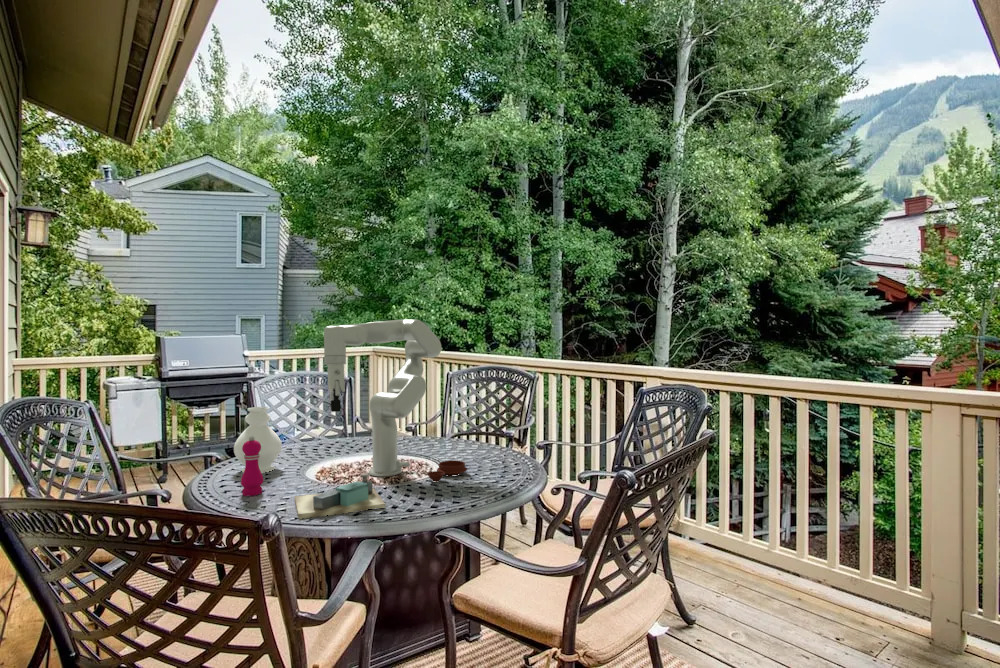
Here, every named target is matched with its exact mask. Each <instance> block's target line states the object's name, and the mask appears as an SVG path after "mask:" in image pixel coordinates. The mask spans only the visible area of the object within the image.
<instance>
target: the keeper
mask: <svg viewBox="0 0 1000 668" xmlns="http://www.w3.org/2000/svg"><path fill="white" fill-rule="evenodd" d="M335 490H336V491H339V492H340V505H343V506H350V505H353V504H355V503H358V502H361V501H364V500H367V499H368V483H363V482H360V481H358V480H357V481H354V482H350V483H347V484H343V485H340V486H338V487H335Z"/></svg>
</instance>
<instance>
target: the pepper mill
mask: <svg viewBox="0 0 1000 668" xmlns="http://www.w3.org/2000/svg"><path fill="white" fill-rule="evenodd" d="M249 440H250V441H247V442H245V443H244V445H243V447H242V451H243V452H244V453H245V455H244V459H245V461H246V467H245V466H244V468H245V471H244V473H242V476H241V477H240V478H241V479H240V485H241V486H242V487H243V488H242V491H241V492H242V496H246V497H253V496H260V495H261V494H262V493H263V487H262V484H263V483H264V476H263V473H261V471H260V469H259V465H258V459H259V458H260V457H259V455H260V454H259V452H260V450H261V444H260V443H259V442H258V441H256V440H254V436H250V437H249Z"/></svg>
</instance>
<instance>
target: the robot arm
mask: <svg viewBox="0 0 1000 668" xmlns="http://www.w3.org/2000/svg"><path fill="white" fill-rule="evenodd" d="M402 341H406V342H405V345H404V352H405V353H404V354H405V362H404V363H403V365H402V366H401V368H400V369H399V370H398V371H397V373H395V375H394V376H393V377H392V378H391V380H390V381H389V383H388V392H387V391H382V392H381V391H379V392H377V393H375V394H373V396H372V397H371V398H370V400H369V411H370V412H369V413H370V416H371V424H372V425H371V426H372V429H371V430H372V467H371V468H370V469H369V470H368V474H369V476H371V477H383V478H384V477H392V476H397V475H400V474H401V473H402V468H404V467H410V465H411V463H410V461H400V460H399V459H398V426H397V421H396V419H398V420H399V419H404V418H407V416H409V415H410V414H411V412H412V411H413V410H414V408H416V406H417V405H418V404H419V402H420V401H421V400H422V398H423V397H424V396H425V393H426V391H427V382H426V380H425V378H424V377H423V376H422V375H423V373H424V364H423V359H422V358H427V359H428V358H431V359H433V358H436V357H438V356H439V355H440V354H441V351H442V343H441V340H440V339H439V338H438V336H437V335H436V334H435V333H434V332H433V331H432V330H431V328H430V327H428V325H426V324H425V323H424V322H423V321H422V320H419V319H416V318H415V319H414V318H413V319H411V318H410V319H408V318H407V319H394V320H391V319H390V320H383V321H373V322H372V321H370V322H366V323H365V322H364V323H353V324H352V323H351V324H343V325H342V324H340V325H329V326H328V325H327V326H326V327H324V329H323V353H324V355H323V356H324V358H323V359H324V360H323V364H324V365H325V366H327V386H328V391H330V396H331V397H330V411H331V412H333V413H334V412H341V410H342V409H341V407H342V406H341V392H342V393H345V391H346V386H345V369H344V368H345V367H344V365H346V364H347V346H349V347H350V346H353V347H358V346H362V345H363V344H385V343H392V342H402Z"/></svg>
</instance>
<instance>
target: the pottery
mask: <svg viewBox="0 0 1000 668" xmlns="http://www.w3.org/2000/svg"><path fill="white" fill-rule="evenodd" d="M466 471H468V467H466V462H464V461H461V460H445V461H441V462H439V463H438V467H437V469H436V470H434V471H429V472H427V473H426V474H427V476H428V477H429V479H430V480H433V481H439V480H440V481H441V479H442V478H443V477H444V476H445V475H448V476H447V477H450V476H452V475H458V474H460V475H461V474H462V473H465V472H466ZM444 474H445V475H444ZM458 476H459V475H458Z"/></svg>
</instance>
